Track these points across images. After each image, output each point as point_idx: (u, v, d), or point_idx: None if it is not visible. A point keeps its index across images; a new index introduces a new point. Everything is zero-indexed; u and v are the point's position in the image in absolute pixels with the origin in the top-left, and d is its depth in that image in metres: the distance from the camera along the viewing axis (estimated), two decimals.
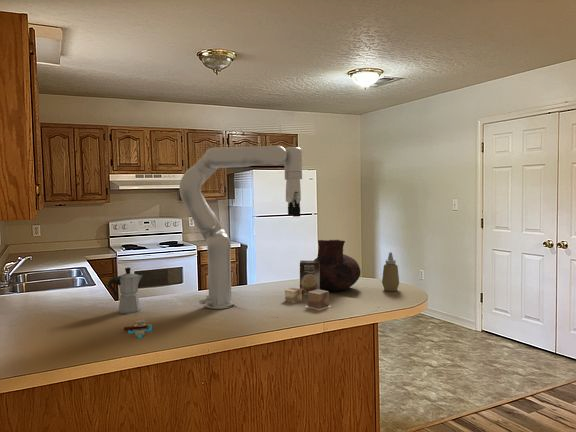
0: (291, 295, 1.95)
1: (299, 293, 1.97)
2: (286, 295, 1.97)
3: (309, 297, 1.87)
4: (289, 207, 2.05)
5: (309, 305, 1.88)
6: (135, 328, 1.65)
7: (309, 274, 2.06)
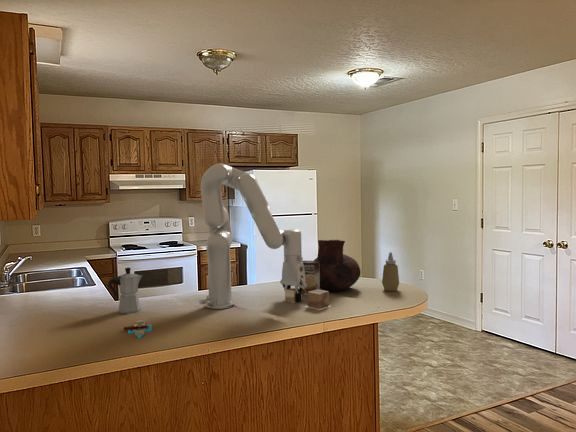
0: (291, 295, 1.95)
1: None
2: (286, 295, 1.97)
3: (309, 297, 1.87)
4: None
5: (309, 305, 1.88)
6: (135, 328, 1.65)
7: (309, 274, 2.06)
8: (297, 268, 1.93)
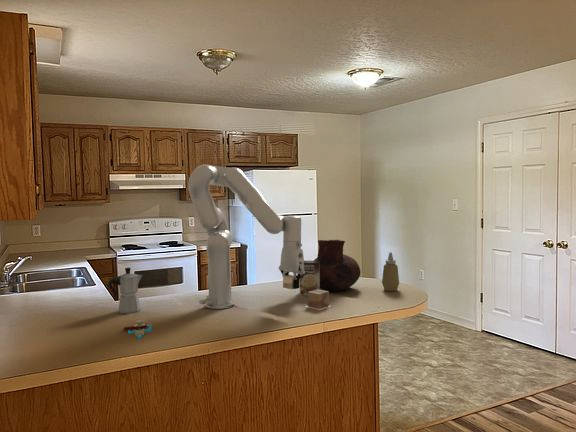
0: (289, 281, 1.95)
1: None
2: (284, 281, 1.97)
3: (309, 297, 1.87)
4: None
5: (309, 305, 1.88)
6: (135, 328, 1.65)
7: (309, 274, 2.06)
8: (296, 254, 1.92)
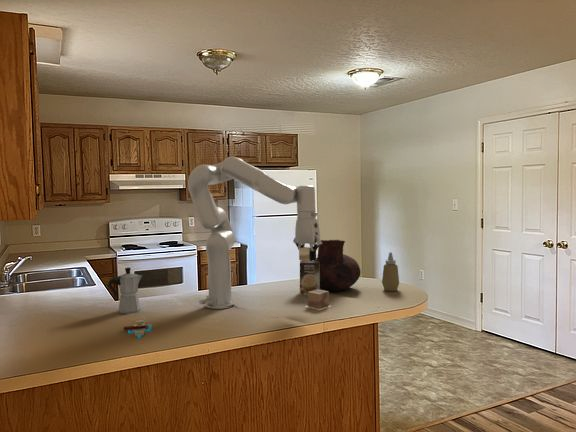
0: (305, 253, 1.88)
1: None
2: (300, 253, 1.90)
3: (309, 297, 1.87)
4: None
5: (309, 305, 1.88)
6: (135, 328, 1.65)
7: (309, 274, 2.06)
8: (311, 224, 1.86)
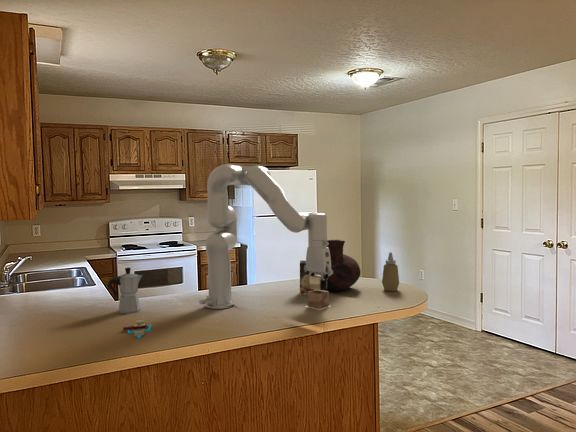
0: (316, 282, 1.85)
1: None
2: (311, 282, 1.87)
3: (309, 297, 1.87)
4: None
5: (309, 305, 1.88)
6: (134, 328, 1.65)
7: None
8: (323, 253, 1.82)
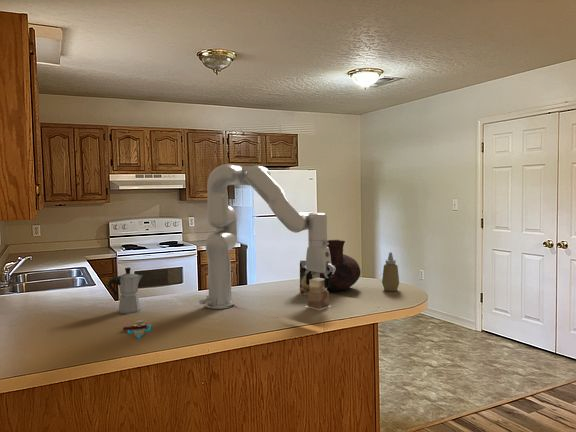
0: (316, 285, 1.85)
1: None
2: (311, 285, 1.87)
3: (309, 297, 1.87)
4: None
5: (309, 305, 1.88)
6: (134, 328, 1.65)
7: None
8: (323, 253, 1.82)
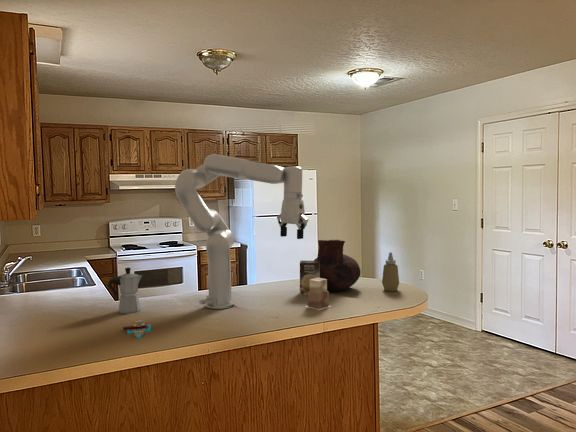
0: (316, 285, 1.85)
1: (324, 283, 1.87)
2: (311, 285, 1.87)
3: (309, 297, 1.87)
4: None
5: (309, 305, 1.88)
6: (134, 328, 1.65)
7: (309, 274, 2.06)
8: (296, 205, 1.88)
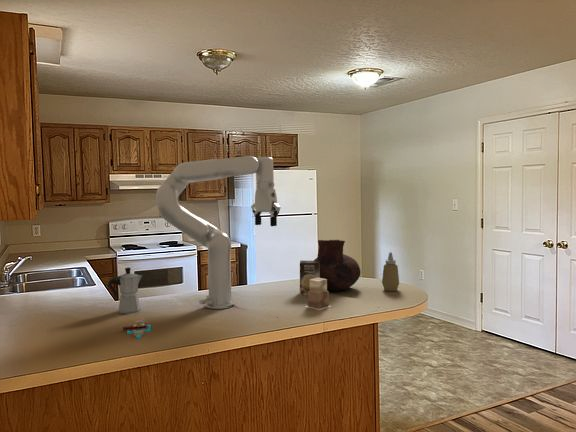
0: (316, 285, 1.85)
1: (324, 283, 1.87)
2: (311, 285, 1.87)
3: (309, 297, 1.87)
4: None
5: (309, 305, 1.88)
6: (134, 328, 1.65)
7: (309, 274, 2.06)
8: (269, 194, 1.96)
